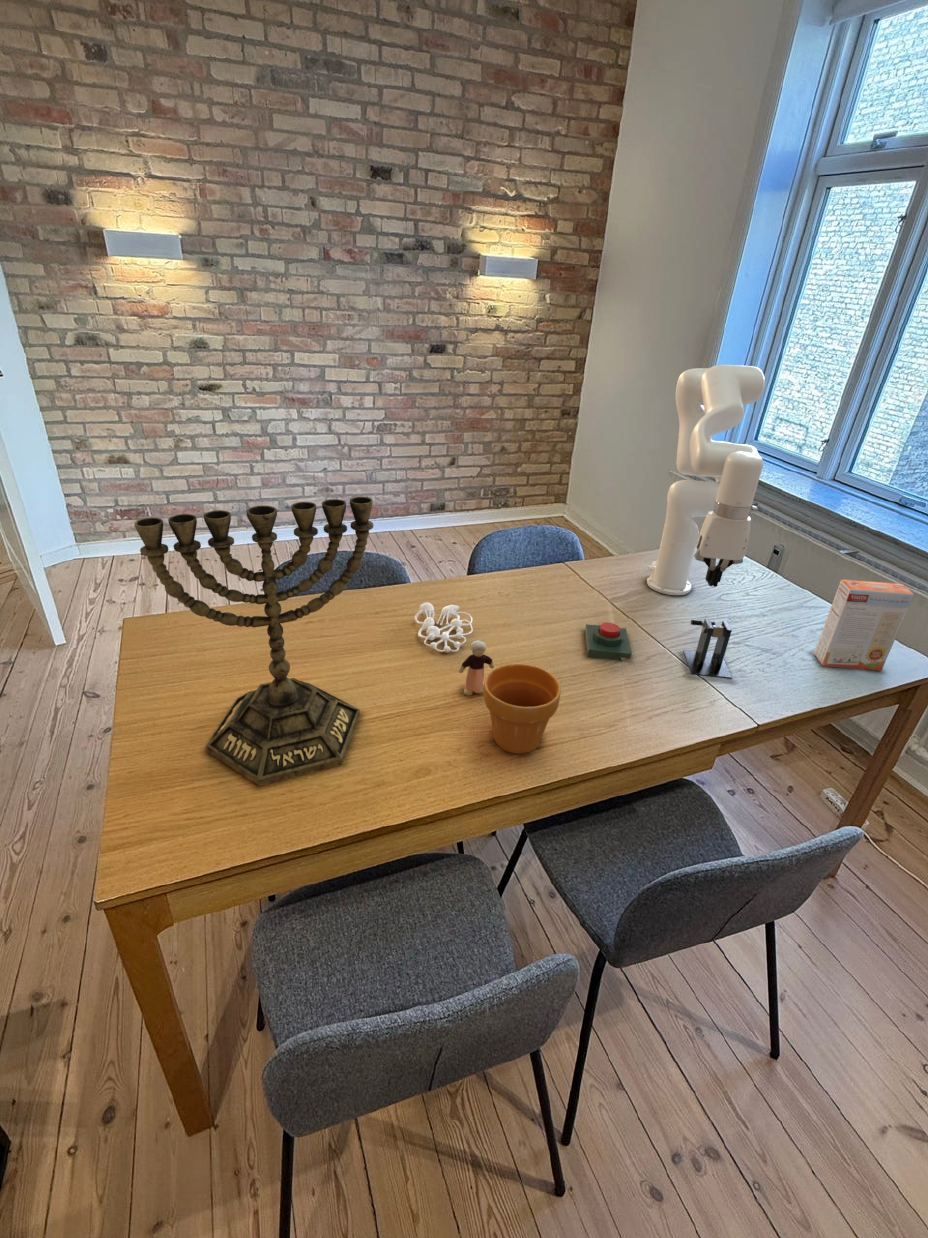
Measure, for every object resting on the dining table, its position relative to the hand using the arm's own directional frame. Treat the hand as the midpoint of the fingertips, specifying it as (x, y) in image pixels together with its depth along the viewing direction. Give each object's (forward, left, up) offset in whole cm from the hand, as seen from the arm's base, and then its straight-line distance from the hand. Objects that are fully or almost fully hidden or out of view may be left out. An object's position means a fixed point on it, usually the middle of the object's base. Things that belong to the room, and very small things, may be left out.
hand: (711, 583), depth 151 cm
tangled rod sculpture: (-26, -56, -17) cm, 65 cm away
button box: (-7, -21, -17) cm, 28 cm away
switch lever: (+5, -2, -10) cm, 11 cm away
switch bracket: (+9, -4, -17) cm, 20 cm away
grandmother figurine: (-1, -59, -17) cm, 62 cm away
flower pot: (+16, -58, -17) cm, 63 cm away
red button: (-7, -22, -14) cm, 26 cm away
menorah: (-1, -99, -17) cm, 101 cm away
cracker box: (+19, +31, -17) cm, 40 cm away
